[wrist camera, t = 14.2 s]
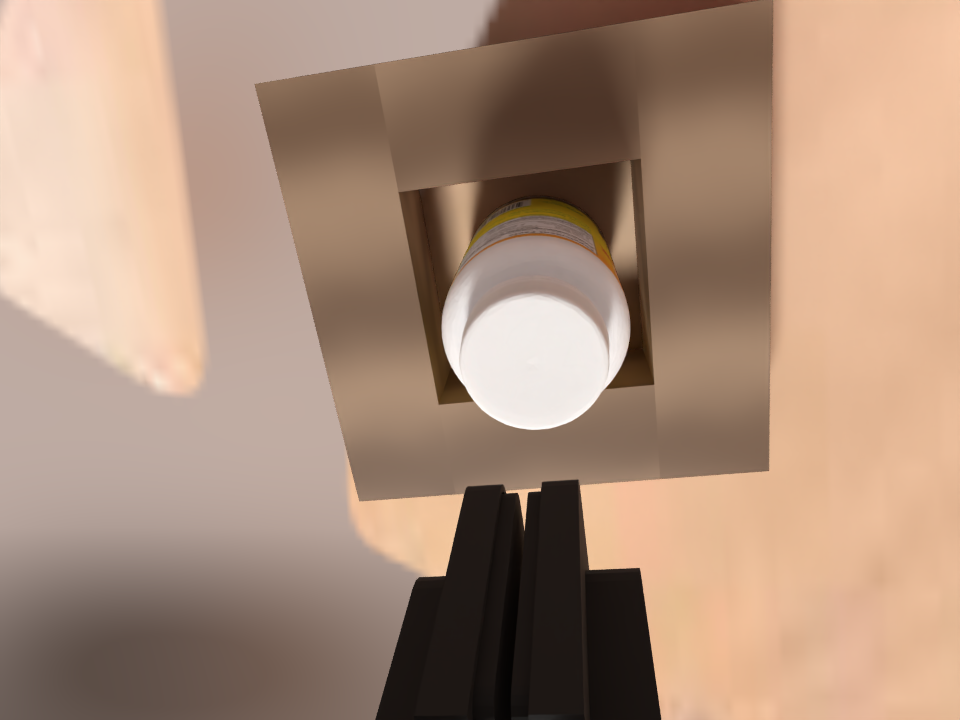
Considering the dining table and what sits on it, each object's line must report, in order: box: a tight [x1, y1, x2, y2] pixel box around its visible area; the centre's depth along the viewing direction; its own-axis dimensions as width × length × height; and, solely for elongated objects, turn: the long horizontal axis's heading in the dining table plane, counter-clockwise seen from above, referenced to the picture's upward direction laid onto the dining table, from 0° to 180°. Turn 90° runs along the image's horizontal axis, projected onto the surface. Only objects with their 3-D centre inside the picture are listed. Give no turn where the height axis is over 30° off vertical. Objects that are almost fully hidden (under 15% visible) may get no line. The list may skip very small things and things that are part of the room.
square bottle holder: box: [255, 0, 773, 501], centre depth 26 cm, size 16×16×4 cm
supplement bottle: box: [442, 196, 630, 430], centre depth 23 cm, size 6×6×10 cm
